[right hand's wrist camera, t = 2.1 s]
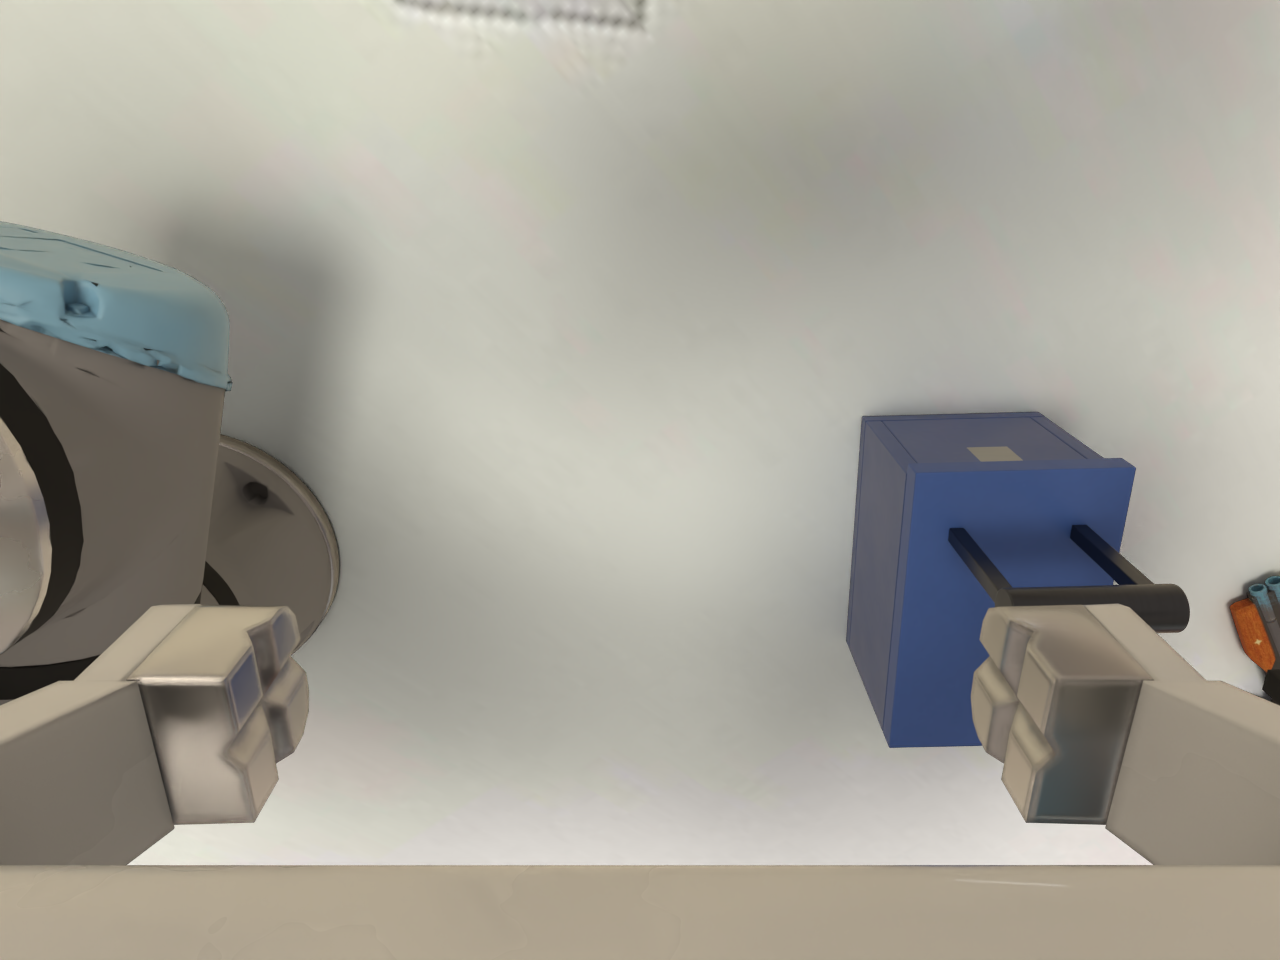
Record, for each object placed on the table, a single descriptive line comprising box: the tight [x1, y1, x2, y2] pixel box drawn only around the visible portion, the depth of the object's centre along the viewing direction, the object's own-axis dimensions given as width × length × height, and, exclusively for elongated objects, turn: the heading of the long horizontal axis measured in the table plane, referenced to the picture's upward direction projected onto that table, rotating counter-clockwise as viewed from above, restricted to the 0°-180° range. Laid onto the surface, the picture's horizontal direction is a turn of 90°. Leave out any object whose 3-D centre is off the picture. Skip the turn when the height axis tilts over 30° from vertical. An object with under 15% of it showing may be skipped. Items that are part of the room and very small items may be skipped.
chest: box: [846, 412, 1104, 731], centre depth 47 cm, size 15×10×9 cm
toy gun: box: [1230, 576, 1280, 706], centre depth 55 cm, size 3×19×10 cm
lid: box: [883, 458, 1190, 748], centre depth 38 cm, size 15×10×9 cm, turn 2°
